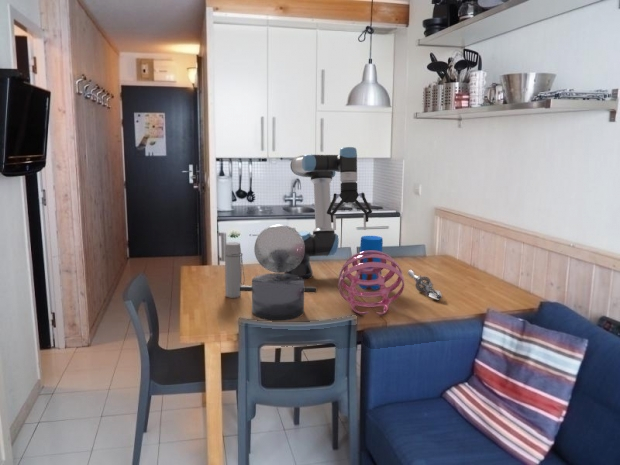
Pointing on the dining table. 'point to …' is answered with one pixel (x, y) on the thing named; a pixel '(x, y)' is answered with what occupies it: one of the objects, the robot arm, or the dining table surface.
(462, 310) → the dining table surface
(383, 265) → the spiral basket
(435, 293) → the spaceship
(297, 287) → the pot
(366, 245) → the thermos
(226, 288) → the water bottle
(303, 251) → the lid
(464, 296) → the dining table surface
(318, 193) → the robot arm
